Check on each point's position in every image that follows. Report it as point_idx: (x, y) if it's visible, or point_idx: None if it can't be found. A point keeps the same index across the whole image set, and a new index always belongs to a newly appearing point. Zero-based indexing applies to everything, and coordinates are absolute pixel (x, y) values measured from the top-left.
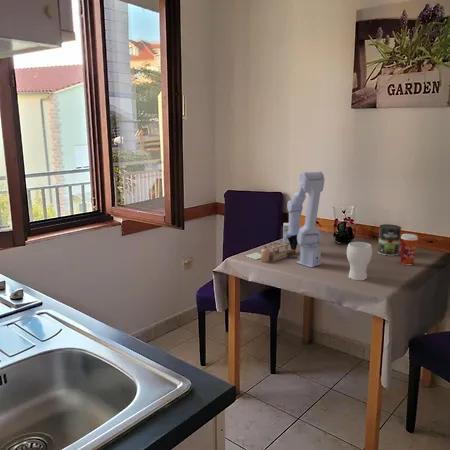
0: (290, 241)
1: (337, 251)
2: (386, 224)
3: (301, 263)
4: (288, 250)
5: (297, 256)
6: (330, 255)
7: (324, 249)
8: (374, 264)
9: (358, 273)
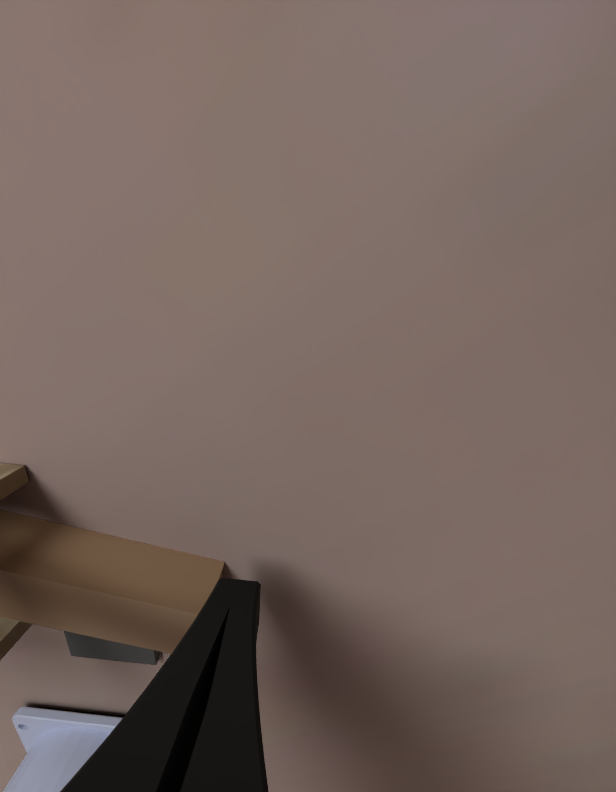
0: (117, 775)
1: (585, 783)
2: None
3: (28, 750)
4: (112, 601)
5: (153, 657)
6: (425, 781)
7: (598, 708)
8: None
9: None
